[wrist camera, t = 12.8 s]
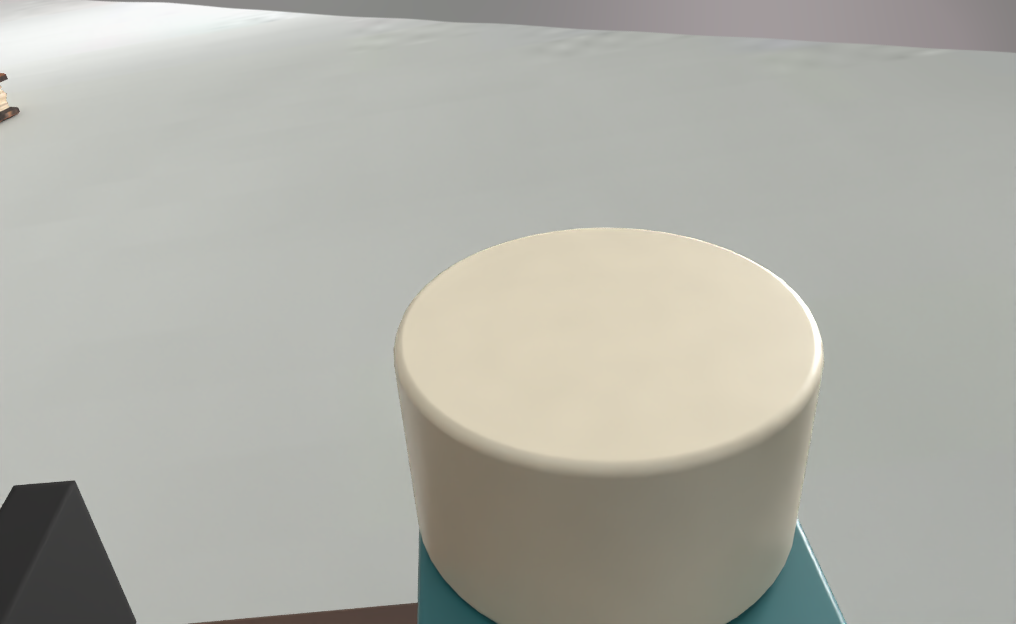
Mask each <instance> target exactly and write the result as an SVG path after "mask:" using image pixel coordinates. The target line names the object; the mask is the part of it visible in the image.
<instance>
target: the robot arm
mask: <svg viewBox="0 0 1016 624" xmlns="http://www.w3.org/2000/svg"><path fill="white" fill-rule="evenodd" d="M0 624H136V620H135V617H134V615H133V613H132V610H131V608H130V606H129V604H128V601H127V599H126V597H125V594H124V592H123V590H122V588H121V585H120V583H119V581H118V578H117V576H116V574H115V571H114V569H113V567H112V565H111V562H110V560H109V558H108V555H107V553H106V551H105V549H104V546H103V544H102V542H101V539H100V537H99V535H98V532H97V530H96V528H95V526H94V523H93V521H92V519H91V516H90V514H89V512H88V510H87V507H86V505H85V503H84V500H83V498H82V496H81V493H80V491H79V489H78V487H77V484H76V482H75V481H63V482H51V483H39V484H27V485H15V486H13V488H12V490H11V491H10V493H9V495H8V497H7V498H6V500H5V502H4V504H3V505H2V507H1V509H0Z"/></svg>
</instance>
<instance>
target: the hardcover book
mask: <svg viewBox="0 0 1016 624" xmlns="http://www.w3.org/2000/svg"><path fill="white" fill-rule="evenodd" d="M6 79H7V76H6V74H4V73H0V82H2V81H4V80H6ZM1 88H2V87H1V86H0V122H1V121H3V120H5V119H7V118H9V117H11V116H14V115H16V114H18V113H19V112H20V111H19V108H17V107H9V106H8V103H7V102H6V96H7V94H6V93H5V92H4V91H2V90H1Z"/></svg>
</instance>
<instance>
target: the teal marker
mask: <svg viewBox="0 0 1016 624" xmlns="http://www.w3.org/2000/svg"><path fill="white" fill-rule="evenodd" d="M394 367H395V373H396V380H397V386H398V393H399V399H400V406H401V412H402V419H403V426H404V432H405V439H406V445H407V452H408V458H409V465H410V471H411V478H412V484H413V491H414V497H415V504H416V510H417V517H418V523H419V566H418V614H417V624H846V622H845V619H844V617H843V615H842V613H841V611H840V609H839V606H838V604H837V602H836V600H835V598H834V596H833V593H832V591H831V589H830V587H829V585H828V583H827V580H826V578H825V576H824V574H823V572H822V570H821V567H820V565H819V563H818V561H817V559H816V557H815V554H814V552H813V550H812V548H811V546H810V544H809V542H808V539H807V537H806V535H805V533H804V531H803V529H802V526H801V524H800V522H799V520H798V518H797V516H798V510H799V505H800V499H801V493H802V487H803V482H804V476H805V470H806V464H807V459H808V453H809V447H810V441H811V436H812V430H813V424H814V418H815V413H816V407H817V401H818V395H819V390H820V384H821V378H822V372H823V367H824V350H823V343H822V340H821V336H820V333H819V329H818V326H817V324H816V322H815V320H814V318H813V316H812V314H811V312H810V310H809V308H808V307H807V306H806V304H805V303H804V302H803V301H802V299H801V298H800V297H799V295H798V294H797V293H796V292H795V291H794V290H793V289H792V288H790V287H789V286H788V285H787V284H786V283H785V282H784V281H783V280H781V279H780V278H779V277H777V276H776V275H775V274H773V273H772V272H771V271H769V270H768V269H766V268H764V267H762V266H761V265H759V264H757V263H756V262H754V261H752V260H750V259H748V258H746V257H744V256H742V255H739V254H737V253H735V252H733V251H731V250H728V249H725V248H722V247H719V246H717V245H714V244H711V243H708V242H704V241H700V240H697V239H693V238H690V237H685V236H680V235H675V234H670V233H664V232H657V231H650V230H641V229H627V228H584V229H571V230H562V231H553V232H547V233H542V234H536V235H531V236H527V237H523V238H519V239H515V240H511V241H508V242H505V243H502V244H498V245H495V246H492V247H490V248H487V249H485V250H482V251H480V252H478V253H475V254H473V255H471V256H469V257H467V258H465V259H463V260H461V261H459V262H457V263H455V264H454V265H452V266H451V267H449V268H448V269H446V270H445V271H443V272H442V273H440V274H439V275H437V276H436V277H435V278H434V279H433V280H432V281H430V282H429V283H428V284H427V285H426V286H425V287H424V288H423V289H422V290H421V291H420V292H419V293H418V294H417V295H416V297H415V298H414V299H413V300H412V302H411V303H410V305H409V306H408V308H407V310H406V311H405V313H404V315H403V318H402V320H401V322H400V325H399V327H398V330H397V333H396V338H395V344H394Z"/></svg>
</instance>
